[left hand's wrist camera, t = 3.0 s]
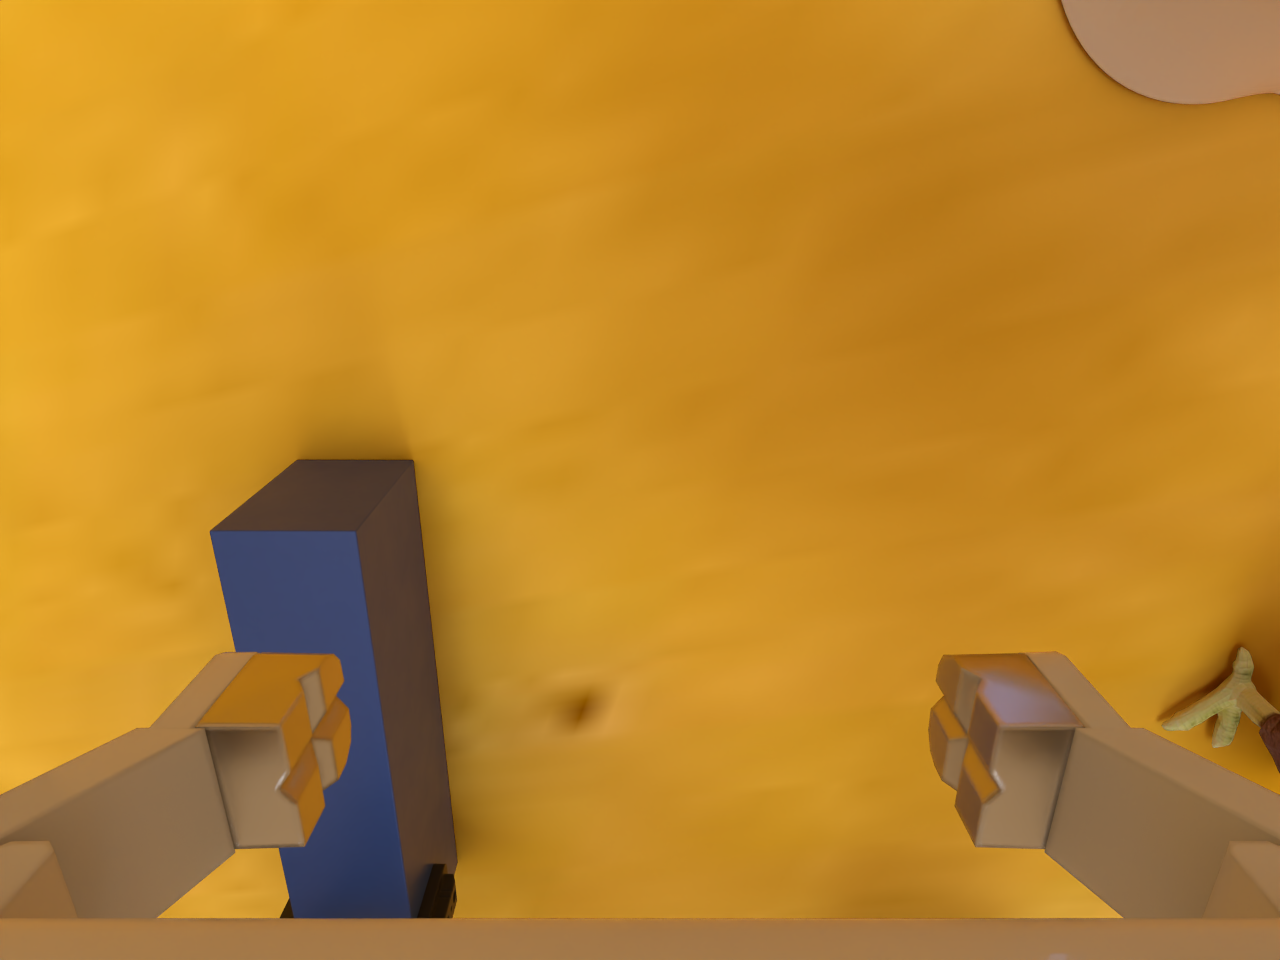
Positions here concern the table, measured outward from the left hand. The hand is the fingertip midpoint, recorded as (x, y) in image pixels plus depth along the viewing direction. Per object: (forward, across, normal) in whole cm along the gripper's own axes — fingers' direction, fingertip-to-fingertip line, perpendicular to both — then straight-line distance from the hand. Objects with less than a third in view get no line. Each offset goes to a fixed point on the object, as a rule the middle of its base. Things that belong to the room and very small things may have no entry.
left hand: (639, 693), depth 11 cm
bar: (+28, -14, -20) cm, 38 cm away
